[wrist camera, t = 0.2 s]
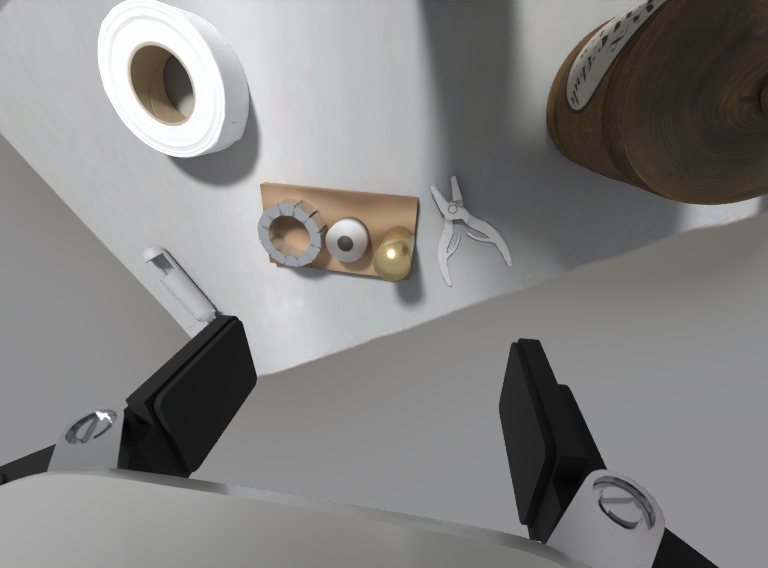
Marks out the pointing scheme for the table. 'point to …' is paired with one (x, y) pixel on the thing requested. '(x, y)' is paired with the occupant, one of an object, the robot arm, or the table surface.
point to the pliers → (458, 212)
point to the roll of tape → (146, 85)
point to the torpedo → (180, 285)
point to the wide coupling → (275, 241)
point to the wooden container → (671, 100)
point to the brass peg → (394, 254)
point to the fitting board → (338, 208)
